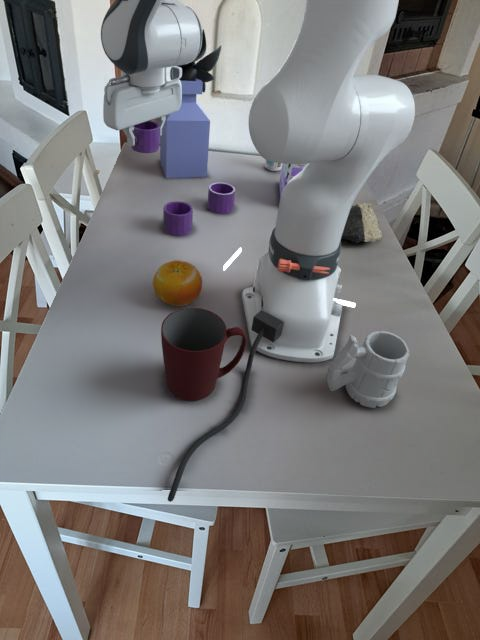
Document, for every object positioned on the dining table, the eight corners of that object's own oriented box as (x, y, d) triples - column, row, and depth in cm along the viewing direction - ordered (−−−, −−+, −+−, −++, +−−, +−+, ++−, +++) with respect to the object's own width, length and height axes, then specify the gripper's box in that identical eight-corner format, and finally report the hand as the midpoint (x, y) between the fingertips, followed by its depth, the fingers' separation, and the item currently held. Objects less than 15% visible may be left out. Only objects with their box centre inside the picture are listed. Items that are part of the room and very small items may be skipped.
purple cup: (156, 155, 102) (155, 131, 99) (127, 151, 102) (126, 127, 99) (161, 144, 107) (161, 121, 103) (134, 140, 107) (133, 118, 103)
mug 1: (234, 357, 76) (242, 305, 69) (245, 400, 69) (255, 348, 62) (159, 362, 73) (158, 308, 66) (163, 408, 67) (163, 354, 60)
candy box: (304, 210, 116) (318, 144, 105) (280, 208, 116) (292, 141, 105) (299, 185, 127) (312, 123, 116) (278, 183, 126) (288, 120, 115)
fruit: (137, 276, 83) (162, 250, 79) (173, 274, 90) (197, 250, 85) (156, 317, 81) (183, 293, 77) (191, 312, 88) (217, 290, 83)
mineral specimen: (393, 224, 103) (332, 223, 98) (380, 252, 107) (321, 251, 103) (368, 195, 111) (310, 192, 107) (357, 222, 116) (302, 220, 112)
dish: (189, 237, 101) (190, 217, 98) (161, 234, 101) (161, 213, 98) (193, 223, 106) (194, 203, 103) (166, 220, 106) (166, 199, 103)
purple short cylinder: (232, 215, 110) (234, 196, 107) (205, 212, 110) (207, 192, 107) (234, 203, 115) (236, 184, 112) (209, 200, 115) (210, 180, 112)
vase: (207, 158, 133) (216, 14, 110) (217, 176, 125) (229, 24, 102) (157, 159, 130) (155, 9, 107) (164, 178, 121) (163, 20, 98)
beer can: (281, 166, 135) (288, 123, 127) (280, 173, 131) (288, 129, 123) (265, 164, 135) (271, 121, 127) (264, 170, 131) (270, 127, 124)
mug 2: (401, 407, 72) (430, 352, 64) (329, 415, 69) (350, 358, 61) (380, 370, 77) (404, 315, 69) (312, 376, 74) (329, 320, 67)
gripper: (116, 84, 86) (121, 157, 95) (187, 68, 100) (185, 133, 109) (92, 75, 89) (99, 148, 98) (164, 60, 102) (164, 125, 111)
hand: (145, 140), depth 103 cm, fingers closed on purple cup, 6 cm apart
